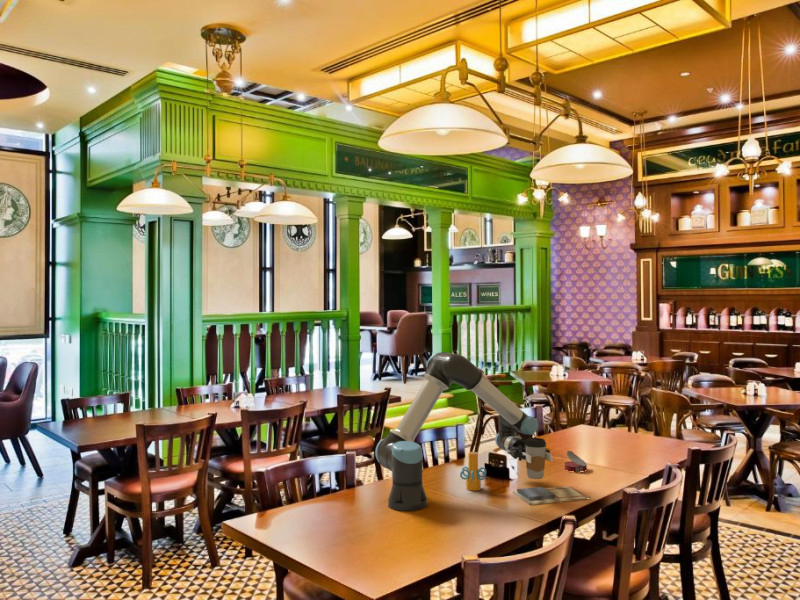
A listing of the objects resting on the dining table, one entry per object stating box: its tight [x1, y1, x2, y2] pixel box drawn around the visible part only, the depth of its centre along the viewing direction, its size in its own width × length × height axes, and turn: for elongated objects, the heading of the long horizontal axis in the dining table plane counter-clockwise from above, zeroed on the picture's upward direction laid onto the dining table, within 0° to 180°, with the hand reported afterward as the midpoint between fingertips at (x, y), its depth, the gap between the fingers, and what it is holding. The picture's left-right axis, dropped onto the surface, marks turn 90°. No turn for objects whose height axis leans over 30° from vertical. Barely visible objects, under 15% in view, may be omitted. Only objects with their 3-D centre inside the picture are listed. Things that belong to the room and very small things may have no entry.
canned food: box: [564, 450, 588, 472], centre depth 296 cm, size 11×10×10 cm
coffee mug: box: [516, 431, 537, 442], centre depth 341 cm, size 12×9×10 cm
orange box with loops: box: [459, 451, 487, 492], centre depth 268 cm, size 12×10×15 cm
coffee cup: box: [525, 437, 547, 480], centre depth 255 cm, size 8×8×15 cm
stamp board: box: [511, 485, 591, 506], centre depth 257 cm, size 26×16×2 cm, turn 104°
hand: (540, 458), depth 251 cm, fingers closed on coffee cup, 8 cm apart
